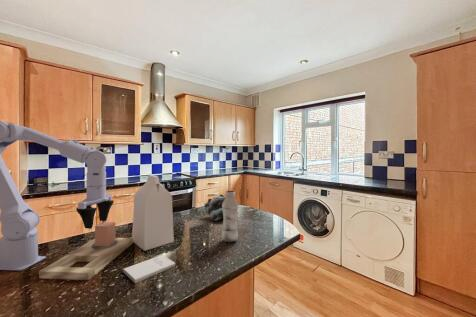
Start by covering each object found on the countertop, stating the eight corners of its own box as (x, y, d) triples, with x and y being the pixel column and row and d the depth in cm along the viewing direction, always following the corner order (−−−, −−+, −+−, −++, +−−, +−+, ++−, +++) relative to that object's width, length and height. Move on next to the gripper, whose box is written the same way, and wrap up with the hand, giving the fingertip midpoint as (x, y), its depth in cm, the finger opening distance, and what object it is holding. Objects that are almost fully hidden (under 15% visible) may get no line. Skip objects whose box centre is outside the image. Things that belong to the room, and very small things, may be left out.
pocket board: (39, 278, 61) (38, 270, 61) (97, 242, 85) (97, 236, 85) (88, 279, 61) (88, 271, 60) (132, 243, 84) (132, 237, 84)
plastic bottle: (241, 240, 89) (242, 191, 88) (229, 245, 84) (230, 193, 83) (230, 236, 93) (230, 189, 92) (218, 240, 88) (218, 191, 87)
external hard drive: (122, 273, 65) (161, 258, 74) (134, 285, 59) (175, 267, 69) (122, 268, 65) (161, 253, 74) (134, 279, 59) (175, 262, 69)
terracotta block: (95, 245, 77) (94, 226, 76) (103, 240, 81) (103, 221, 81) (107, 246, 76) (107, 226, 76) (115, 241, 81) (115, 222, 81)
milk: (131, 240, 87) (131, 175, 86) (159, 233, 95) (159, 173, 94) (144, 250, 79) (144, 178, 78) (173, 241, 87) (174, 176, 86)
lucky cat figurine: (208, 223, 109) (201, 196, 114) (210, 225, 120) (203, 200, 125) (237, 213, 111) (229, 188, 116) (236, 216, 122) (229, 193, 127)
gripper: (93, 189, 69) (93, 232, 69) (119, 182, 83) (119, 218, 84) (71, 188, 69) (71, 231, 70) (101, 182, 84) (101, 217, 84)
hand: (96, 224), depth 77 cm, fingers open, 7 cm apart
